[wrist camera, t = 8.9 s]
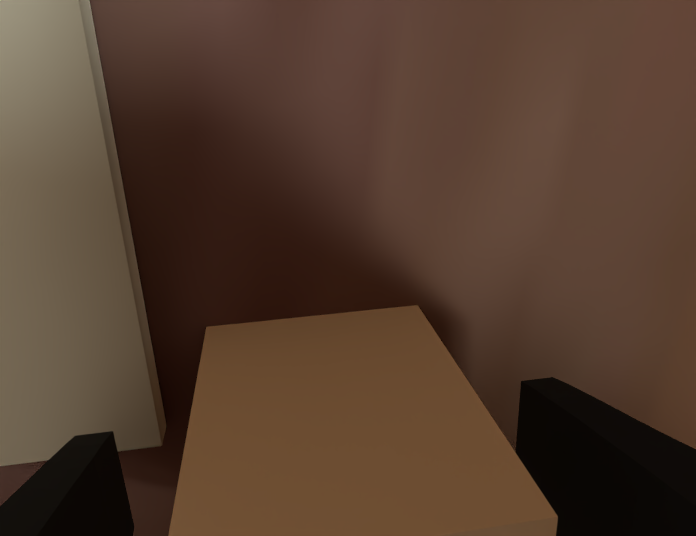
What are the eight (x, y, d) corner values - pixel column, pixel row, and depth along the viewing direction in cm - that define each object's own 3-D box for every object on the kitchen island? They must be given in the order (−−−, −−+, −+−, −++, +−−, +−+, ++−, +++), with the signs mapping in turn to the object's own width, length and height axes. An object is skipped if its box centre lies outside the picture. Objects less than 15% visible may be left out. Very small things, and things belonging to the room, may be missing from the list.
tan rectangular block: (417, 304, 11) (557, 516, 6) (417, 471, 12) (530, 760, 7) (205, 326, 10) (160, 580, 5) (230, 498, 12) (212, 828, 7)
